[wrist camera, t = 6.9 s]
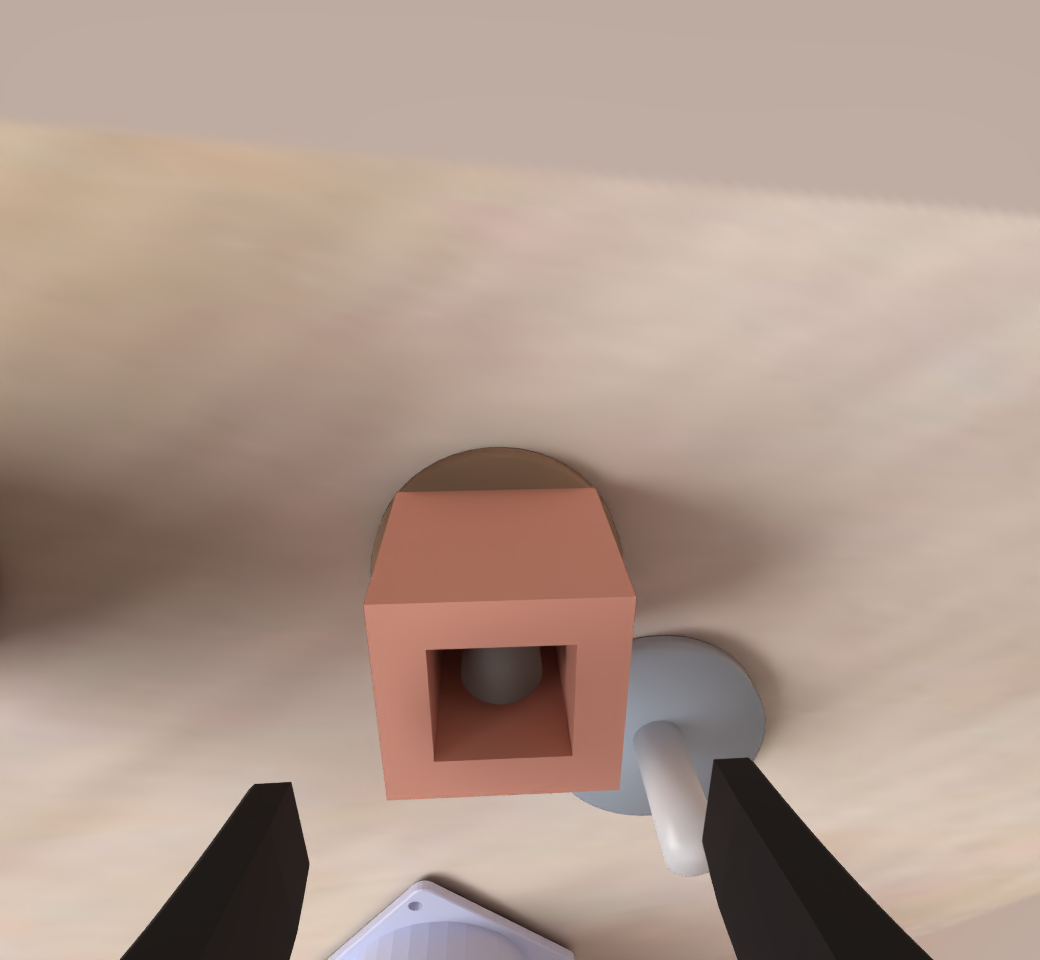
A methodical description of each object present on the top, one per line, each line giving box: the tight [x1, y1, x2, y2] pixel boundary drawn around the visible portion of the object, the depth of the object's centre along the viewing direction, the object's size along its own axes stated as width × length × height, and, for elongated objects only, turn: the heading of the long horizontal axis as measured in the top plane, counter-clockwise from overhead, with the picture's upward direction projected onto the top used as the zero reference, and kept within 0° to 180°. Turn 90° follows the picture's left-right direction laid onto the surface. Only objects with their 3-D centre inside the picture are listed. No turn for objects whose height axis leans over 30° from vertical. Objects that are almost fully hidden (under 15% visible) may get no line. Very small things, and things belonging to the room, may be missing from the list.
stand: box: [572, 636, 765, 876], centre depth 19 cm, size 7×7×5 cm
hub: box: [371, 447, 623, 705], centre depth 16 cm, size 7×7×5 cm
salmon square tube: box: [363, 488, 636, 800], centre depth 16 cm, size 5×5×5 cm
